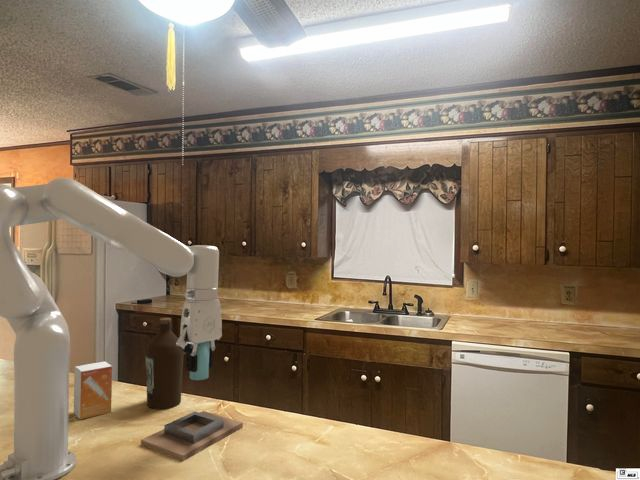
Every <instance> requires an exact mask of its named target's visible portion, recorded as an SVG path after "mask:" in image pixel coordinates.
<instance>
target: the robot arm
mask: <svg viewBox="0 0 640 480" xmlns="http://www.w3.org/2000/svg"><path fill="white" fill-rule="evenodd" d="M60 220H62V221H64V222H66V223H68V224H69V225H72V226H74V227H75V228H77V229H79V230H81V231H83V232H85V233H86V234H88V235H90V236H91V237H93V238H95V239H96V240H99V241H101V242H102V243H104V244H105V245H108V246H110V247H112V248H115V249H116V250H117V249H118V250H120V251H123V252H125V253H128V254H130V255H132V256H135V257H136V258H138V259H139V260H142V261H143V262H145V263H147V264H149V265H151V266H153V267H155V269H156V270H157V271H158V272H160V273H162V274H165V275H168V276H170V277H174V278H179V277H182V276H186V291H185V292H184V294H183V295H184V297H185V301H184V304H183V307H182V311H181V318H180V332H179V333H180V335H179V337H178V338H179V339H178V341H177V342H176V346H178V347H179V348H181V349H182V350H183V352H184V355H186V356H185V370H186V371H188V372H190V371H191V372H196V371H197V355H195V354H196V350H197V345H198V344H200V343H204V342H208V341H210V348H209V368H212V367H213V362H214V361H213V360H214V359H213V358H214V351H215V350H216V345H217V344H218V342H219V340H221V338H222V336H223V333H222V332H223V331H222V330H223V327H222V326H223V324H222V323H223V319H222V306H221V302H220V299H218V296H219V295H218V294H219V293H218V290H219V288H218V287H219V269H220V268H219V267H220V266H219V265H220V264H219V263H220V250H219V249H218V247H217V246H214V245H206V244H205V245H203V244H201V245H199V244H196V245H191V246H190V245H185V244H184V243H182V242H180V241H178V240H177V239H176V238H174V237H172V236H170V235H169V234H167V233H165V232H163V231H162V230H160V229H158V228H157V227H156V226H153V225H151V224H150V223H148V222H146V221H144V220H142V219H141V218H140V217H138V216H136V215H135V214H134V213H133V214H132V213H131V212H129V211H127V210H126V209H124V208H122V207H120V206H118V205H117V204H116V203H114V202H113V201H111V200H109V199H108V198H105V197H104V196H102V195H100V194H98V193H97V192H95V190H93V189H91V188H89V187H87V186H86V185H84V184H82V183H81V182H79V181H77V180H76V179H73V178H70V177H65V176H64V177H57V178H54V179H52V180H49V182H48V183H44V184H35V185H26V186H13V187H11V186H9V185H6V184H4V183H3V184H2V183H0V317H2V318H4V319H6V321H7V323H8V324H9V325H10V328H11V329H12V331H13V332H14V334H15V336H16V337H15V340H14V341H15V342H14V343H13V344H14V345H13V371H14V372H13V373H14V375H13V376H14V383H13V385H14V388H13V389H14V392H13V393H14V399H13V400H14V404H13V405H14V406H13V407H14V408H13V409H14V412H13V414H14V415H13V416H14V418H13V420H14V421H13V425H14V426H13V453H10V454H8V455H7V460H6V461H3V462H2V464H0V480H57V479H58V478H61V477H63V476H65V475H66V474H67V473H69V472H70V471H71V470H73V469H74V467H75V466H76V464H77V456H76V454H75V452H74V453H73V451H69V407H70V404H69V399H70V391H69V390H70V389H69V388H70V386H69V385H70V382H69V381H70V355H71V338H70V331H69V330H70V329H69V325H68V323H67V321H66V319H65V317H64V315H63V314H62V312H61V310H60V308H59V307H58V305H57V303H56V302H55V299H54V298H53V296H52V294H51V293H50V291H49V290H48V288H47V286H46V284H45V283H44V281H43V279H41V277H40V276H38V274H37V273H34V272H33V271H31V270H30V269H29V267H28V265H27V264H26V262H25V260H24V258H23V257H22V255H21V251H19V249H18V248H17V246H16V244H15V243H14V240H13V239H12V237H11V231H10V228H12V227H13V228H14V227H19V226H20V227H21V226H25V225H33V224H39V223H46V222H52V221H60ZM191 344H192V349H191Z"/></svg>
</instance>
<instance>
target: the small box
mask: <svg viewBox="0 0 640 480" xmlns="http://www.w3.org/2000/svg"><path fill="white" fill-rule="evenodd" d="M73 373H74V375H73V376H74V377H73V379H74V380H73V383H74V384H73V413H74V415H76V417H77V418H78V419H79V420H83V419H88V418H92V417H95V416H100V415H105V414H109V413H111V412H112V396H113V395H112V393H113V392H112V391H113V390H112V387H113V365H111V364H109V363H108V362H107V361H100V362H93V363H86V364H82V365H77V366H74V372H73Z"/></svg>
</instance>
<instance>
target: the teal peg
mask: <svg viewBox="0 0 640 480" xmlns="http://www.w3.org/2000/svg"><path fill="white" fill-rule="evenodd" d="M190 348H191V349H192V344H191V346H190ZM209 348H210V341H208V342H204V343H200V344H198V345H197V350H196V354H195V355H197V371H196V372H191V371H189V379H190V380H191V381H203V380H207V379H209V373H210V370H209V369H210V367H209Z"/></svg>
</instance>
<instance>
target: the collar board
mask: <svg viewBox="0 0 640 480" xmlns="http://www.w3.org/2000/svg"><path fill="white" fill-rule="evenodd" d="M243 423H244V422H242V421H239V420H236V419H233V418H229V417H225V416H223V415H218V414H215V413H212V412H209V411H206V410H202V411H200V412H198V411H196V410H195V411H192V412H191V413H189V414H186V415H184V416H182V417H179V418H178V419H175V420H173V421H171V422H168V423H166V424H164V425H163V426H164V427H163V428H162V429H161V430H159V431H157V432H154V433H152V434H149V435H148V436H146V437H143V438H141V439H140V445H141V446H143V447H146V448H148V449H150V450H153V451H156V452H159V453H161V454H164V455H167V456H169V457H172V458H174V459H177V460H180V461H182V462H183V461H185V460H187V459H189V458H191V457H193V456H194V455H196V454H197V453H200V452H201V451H203V450H205V449H206V448H208V447H210V446H212V445H214V444H215V443H217V442H218V441H220V440H222V439H225V438H226V437H227V436H230V435H231V434H232V433H235V432H237V431H238V430H239V429H242V428H243V427H244V426H243V425H244V424H243Z"/></svg>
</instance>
